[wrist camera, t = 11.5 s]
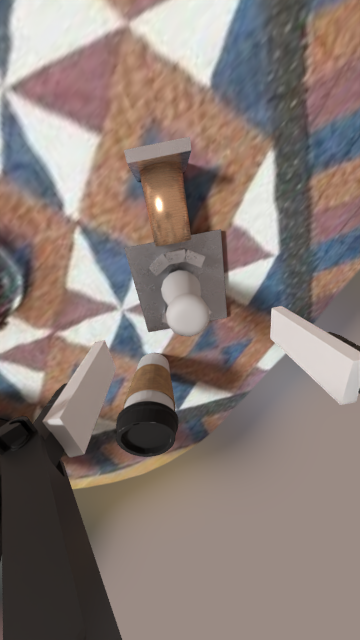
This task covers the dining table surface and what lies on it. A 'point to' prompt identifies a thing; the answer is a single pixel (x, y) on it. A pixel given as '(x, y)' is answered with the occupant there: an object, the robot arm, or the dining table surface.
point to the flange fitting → (172, 234)
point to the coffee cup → (148, 410)
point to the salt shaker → (184, 303)
